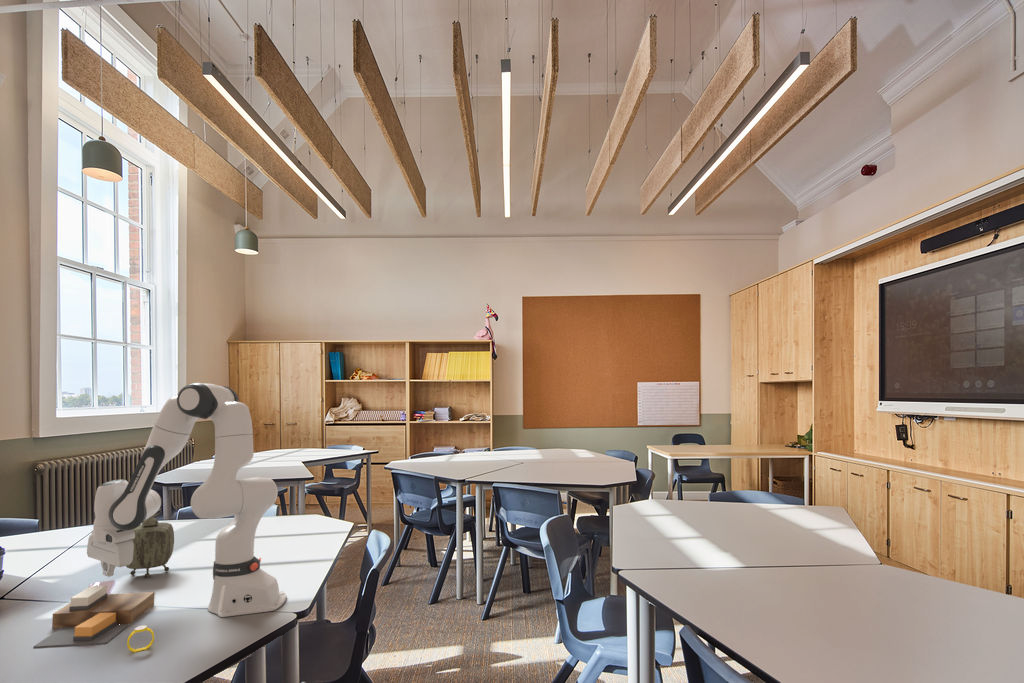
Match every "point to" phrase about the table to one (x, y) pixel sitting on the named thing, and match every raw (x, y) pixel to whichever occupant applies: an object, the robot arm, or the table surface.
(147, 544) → the tabletop clock
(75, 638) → the eraser orange
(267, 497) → the robot arm
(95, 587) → the block
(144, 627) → the watch
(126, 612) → the riser
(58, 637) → the mat
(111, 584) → the mobile phone
